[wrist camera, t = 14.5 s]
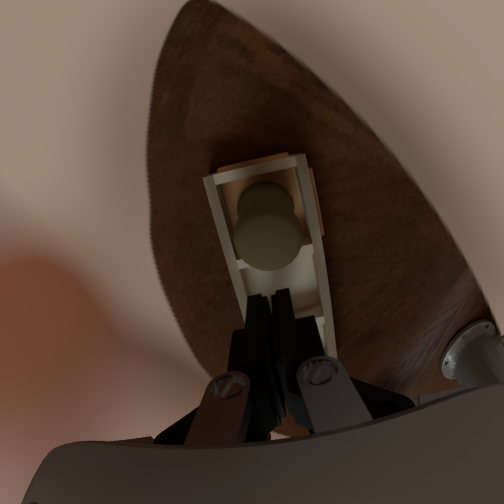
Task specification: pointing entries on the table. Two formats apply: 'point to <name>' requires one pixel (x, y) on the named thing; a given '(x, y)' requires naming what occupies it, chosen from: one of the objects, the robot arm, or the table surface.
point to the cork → (267, 227)
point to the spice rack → (310, 255)
